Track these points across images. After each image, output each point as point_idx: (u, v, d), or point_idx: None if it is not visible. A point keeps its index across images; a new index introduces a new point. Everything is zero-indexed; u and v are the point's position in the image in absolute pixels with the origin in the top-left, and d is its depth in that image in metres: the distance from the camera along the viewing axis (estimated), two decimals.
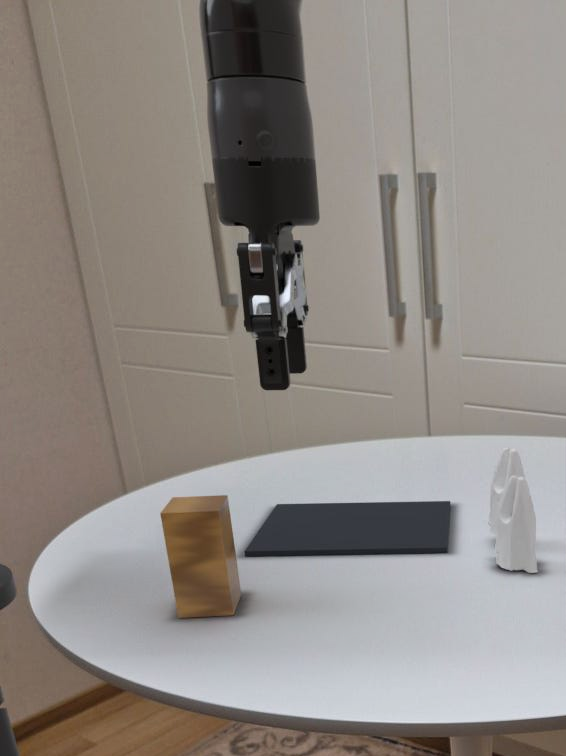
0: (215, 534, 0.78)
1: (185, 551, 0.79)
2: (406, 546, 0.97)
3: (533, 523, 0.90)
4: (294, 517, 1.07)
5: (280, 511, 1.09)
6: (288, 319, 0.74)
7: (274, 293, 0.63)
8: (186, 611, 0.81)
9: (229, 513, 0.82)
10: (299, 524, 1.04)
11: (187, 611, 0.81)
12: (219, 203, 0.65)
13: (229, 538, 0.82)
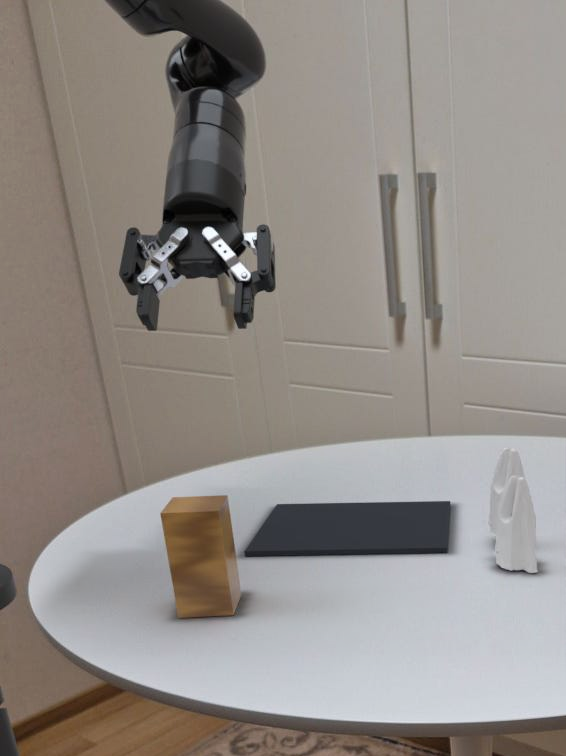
0: (215, 534, 0.78)
1: (185, 551, 0.79)
2: (406, 546, 0.97)
3: (533, 523, 0.90)
4: (294, 517, 1.07)
5: (280, 511, 1.09)
6: (154, 287, 0.85)
7: (274, 268, 0.87)
8: (186, 611, 0.81)
9: (229, 513, 0.82)
10: (299, 524, 1.04)
11: (187, 611, 0.81)
12: (213, 187, 0.84)
13: (229, 538, 0.82)
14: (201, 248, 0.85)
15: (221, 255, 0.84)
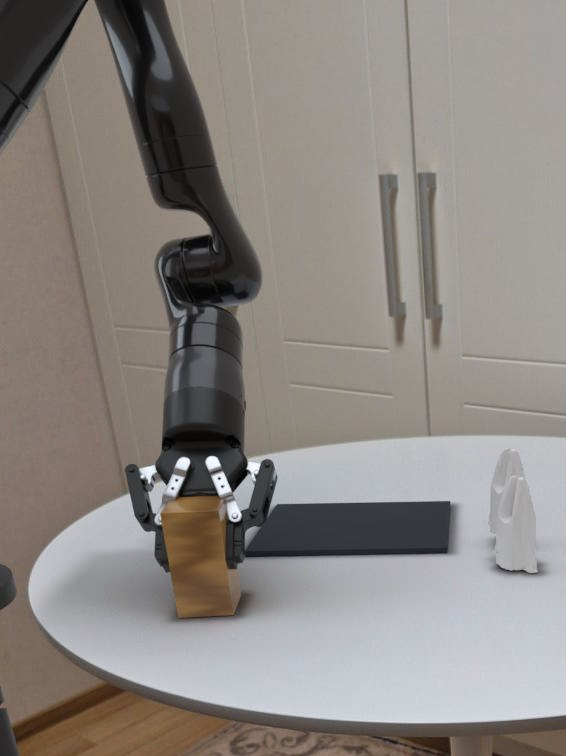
0: (215, 534, 0.78)
1: (184, 551, 0.79)
2: (406, 546, 0.97)
3: (533, 523, 0.90)
4: (294, 517, 1.07)
5: (280, 511, 1.09)
6: None
7: (270, 503, 0.84)
8: (186, 611, 0.81)
9: None
10: (299, 524, 1.04)
11: (187, 611, 0.81)
12: (216, 415, 0.82)
13: None
14: (204, 478, 0.82)
15: (217, 489, 0.81)
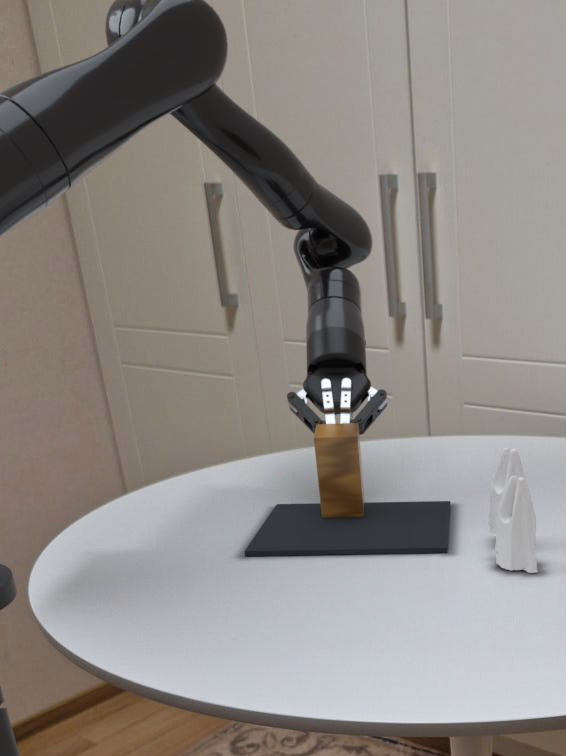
0: (354, 454, 1.03)
1: (330, 467, 1.03)
2: (406, 546, 0.97)
3: (533, 523, 0.90)
4: (294, 517, 1.07)
5: (280, 511, 1.09)
6: None
7: (373, 421, 1.12)
8: (328, 513, 1.06)
9: (359, 437, 1.06)
10: (299, 524, 1.04)
11: (329, 513, 1.06)
12: (349, 348, 1.11)
13: (360, 456, 1.06)
14: (340, 394, 1.11)
15: (341, 402, 1.10)
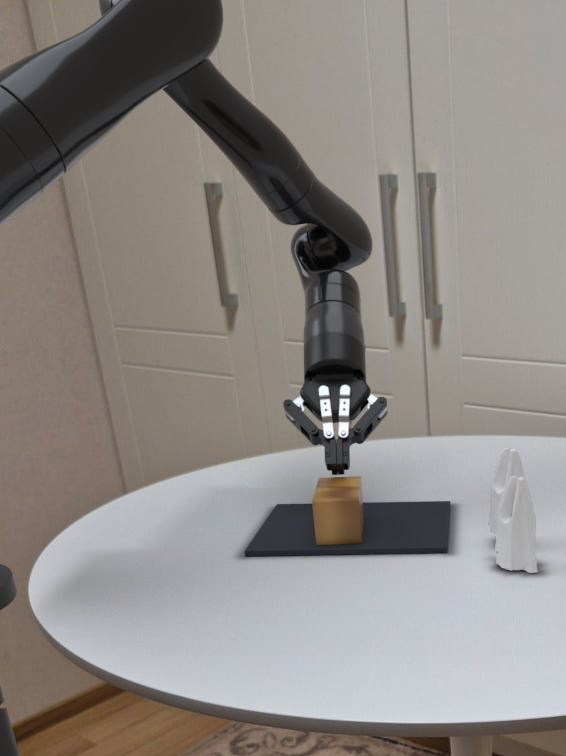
0: None
1: None
2: (406, 546, 0.97)
3: (533, 523, 0.90)
4: (294, 517, 1.07)
5: (280, 511, 1.09)
6: None
7: (373, 430, 1.08)
8: None
9: (359, 498, 0.97)
10: (299, 524, 1.04)
11: None
12: (348, 353, 1.06)
13: None
14: (339, 401, 1.06)
15: (339, 410, 1.05)
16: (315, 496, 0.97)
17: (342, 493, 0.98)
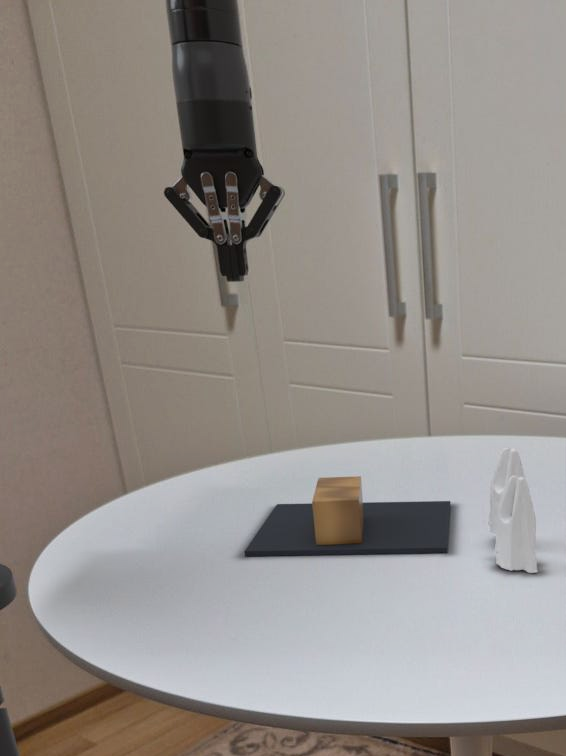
0: None
1: None
2: (406, 546, 0.97)
3: (533, 523, 0.90)
4: (294, 517, 1.07)
5: (280, 511, 1.09)
6: (228, 238, 0.97)
7: (270, 218, 0.97)
8: None
9: (359, 498, 0.97)
10: (299, 524, 1.04)
11: None
12: (228, 132, 0.90)
13: None
14: (226, 191, 0.94)
15: (228, 208, 0.94)
16: (315, 496, 0.97)
17: (342, 493, 0.98)
